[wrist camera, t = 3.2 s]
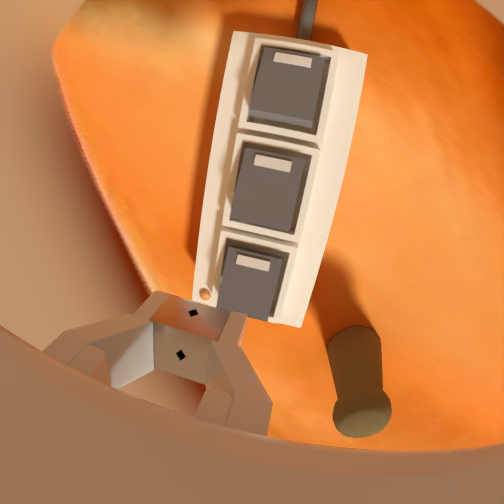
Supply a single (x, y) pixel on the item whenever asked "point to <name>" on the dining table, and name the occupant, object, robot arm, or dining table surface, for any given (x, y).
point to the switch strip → (284, 143)
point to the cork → (358, 382)
